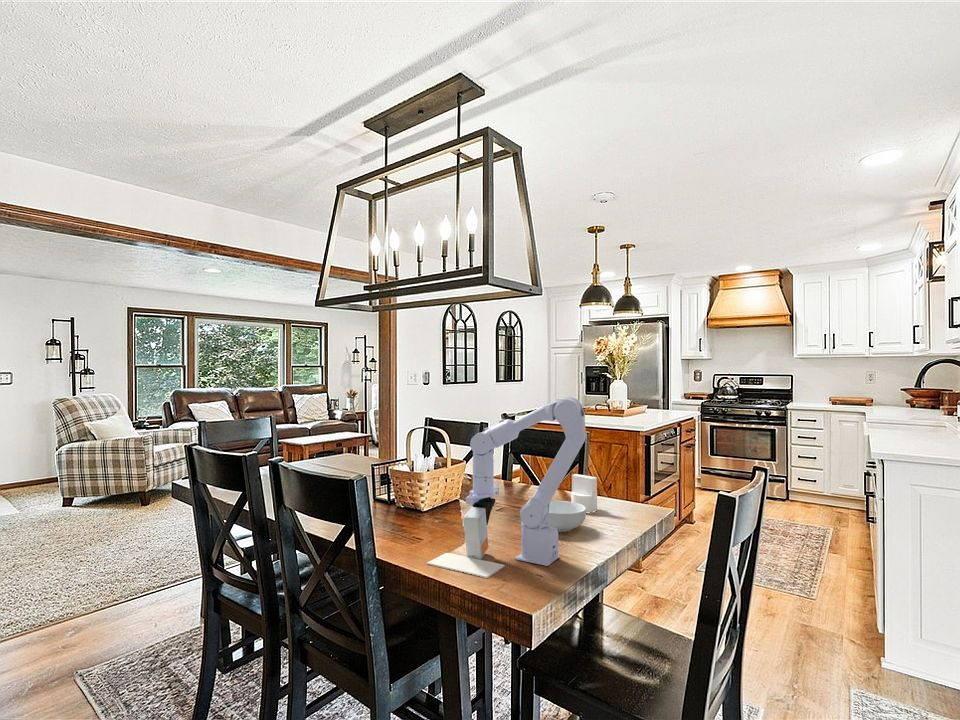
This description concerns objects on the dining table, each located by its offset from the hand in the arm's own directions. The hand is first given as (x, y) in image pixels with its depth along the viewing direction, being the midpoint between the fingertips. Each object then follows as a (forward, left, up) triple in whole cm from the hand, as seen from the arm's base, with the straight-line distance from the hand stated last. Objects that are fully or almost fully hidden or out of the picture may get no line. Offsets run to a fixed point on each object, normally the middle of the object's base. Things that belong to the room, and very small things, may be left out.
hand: (483, 525), depth 149 cm
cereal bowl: (-9, -32, -8) cm, 34 cm away
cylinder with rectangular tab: (-8, -57, -8) cm, 58 cm away
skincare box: (0, +2, -7) cm, 7 cm away
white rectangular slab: (-1, +10, -7) cm, 13 cm away
